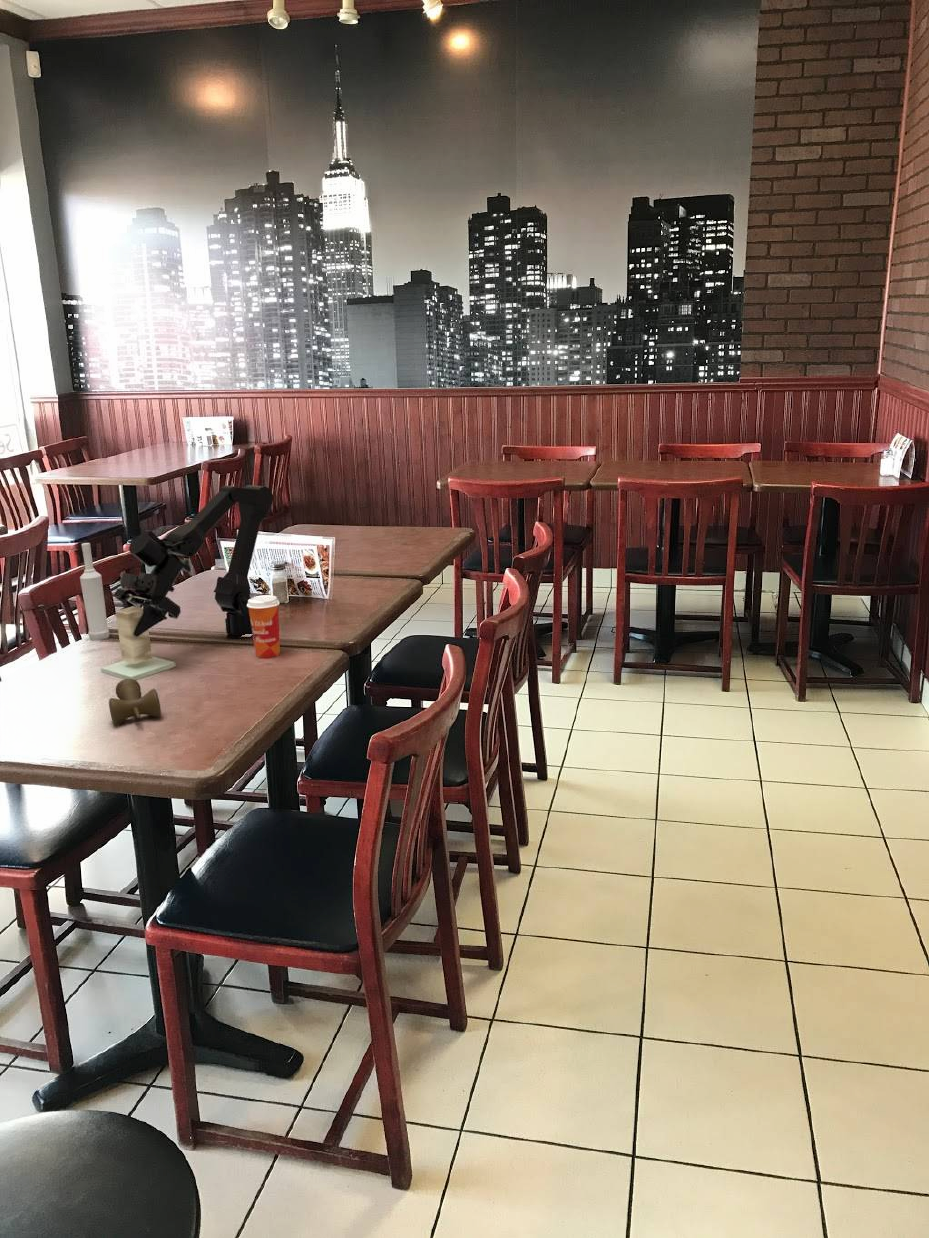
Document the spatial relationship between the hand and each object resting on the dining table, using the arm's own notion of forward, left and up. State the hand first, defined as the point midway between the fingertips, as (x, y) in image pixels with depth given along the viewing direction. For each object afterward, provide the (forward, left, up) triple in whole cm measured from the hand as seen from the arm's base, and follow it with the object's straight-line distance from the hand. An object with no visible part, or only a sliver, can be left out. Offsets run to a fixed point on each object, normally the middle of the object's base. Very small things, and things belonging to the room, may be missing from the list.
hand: (128, 633), depth 231 cm
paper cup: (-29, -12, -9) cm, 32 cm away
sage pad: (-1, -1, -9) cm, 9 cm away
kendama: (-12, +27, -9) cm, 31 cm away
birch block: (-1, -1, -7) cm, 7 cm away
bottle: (+21, -26, -9) cm, 35 cm away
